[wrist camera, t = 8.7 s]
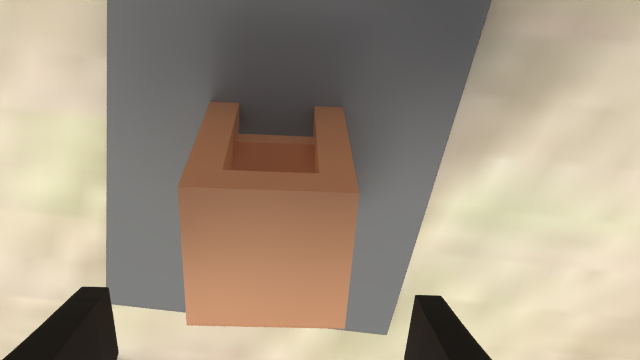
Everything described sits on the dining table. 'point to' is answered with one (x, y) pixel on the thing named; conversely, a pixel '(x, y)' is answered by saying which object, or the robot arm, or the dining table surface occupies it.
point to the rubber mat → (281, 120)
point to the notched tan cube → (268, 223)
